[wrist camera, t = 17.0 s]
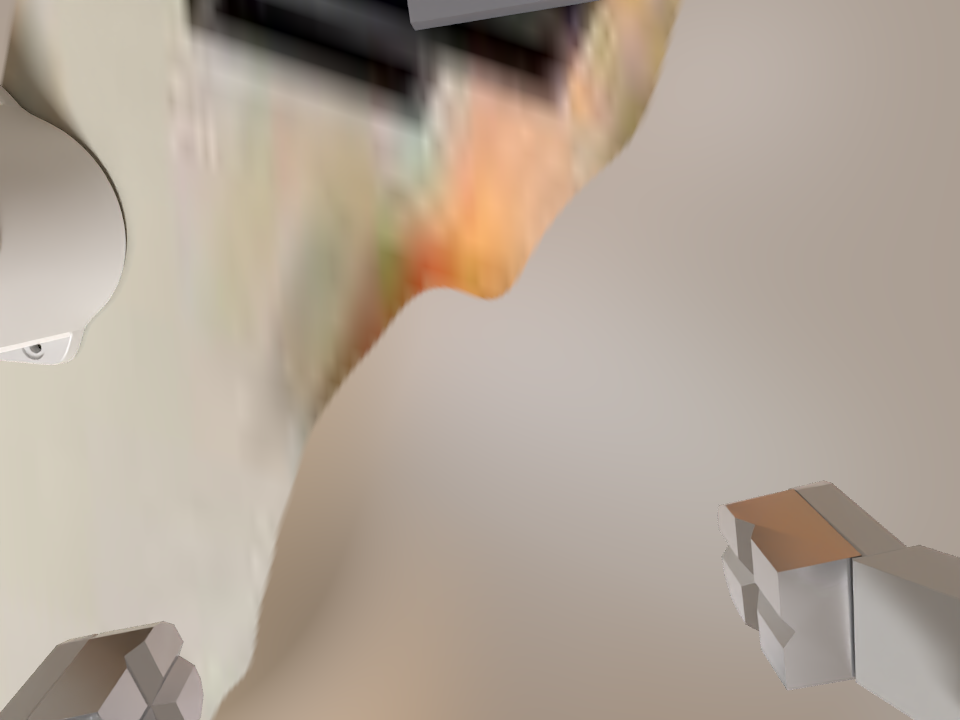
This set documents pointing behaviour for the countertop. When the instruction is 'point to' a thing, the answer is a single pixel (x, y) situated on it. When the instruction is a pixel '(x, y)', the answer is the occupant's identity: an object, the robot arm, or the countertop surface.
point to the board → (473, 10)
